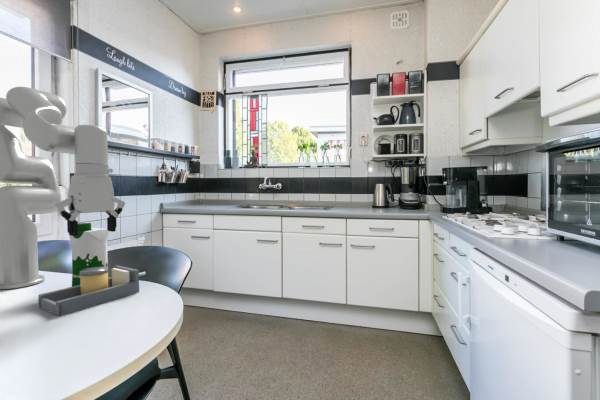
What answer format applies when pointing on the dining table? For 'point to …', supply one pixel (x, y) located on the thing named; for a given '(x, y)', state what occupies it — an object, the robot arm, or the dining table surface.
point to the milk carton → (88, 250)
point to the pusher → (121, 276)
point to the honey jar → (93, 279)
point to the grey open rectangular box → (87, 295)
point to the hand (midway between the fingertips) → (93, 233)
